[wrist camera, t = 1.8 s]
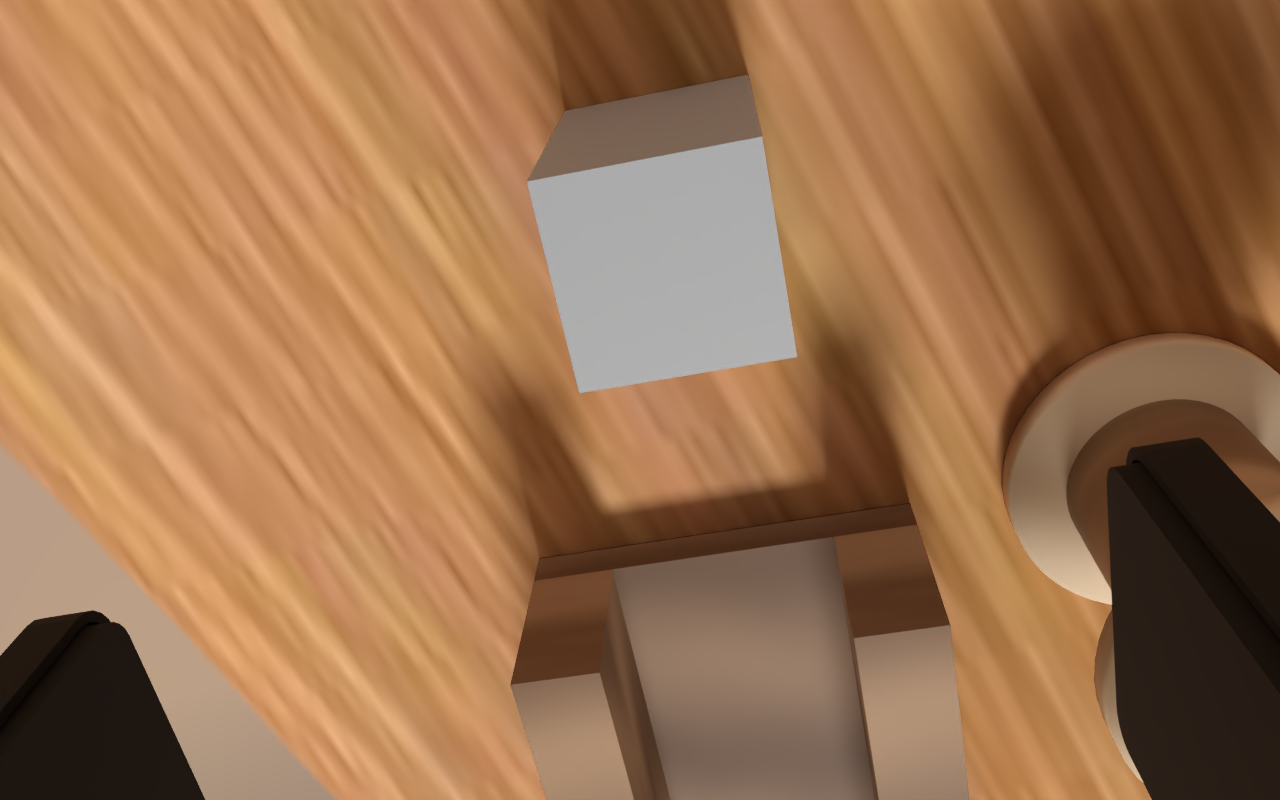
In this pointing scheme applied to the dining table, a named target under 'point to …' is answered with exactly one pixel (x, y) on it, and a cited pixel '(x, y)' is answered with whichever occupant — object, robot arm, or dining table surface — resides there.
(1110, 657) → the bobbin
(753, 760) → the notched board
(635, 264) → the block
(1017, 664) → the dining table surface
